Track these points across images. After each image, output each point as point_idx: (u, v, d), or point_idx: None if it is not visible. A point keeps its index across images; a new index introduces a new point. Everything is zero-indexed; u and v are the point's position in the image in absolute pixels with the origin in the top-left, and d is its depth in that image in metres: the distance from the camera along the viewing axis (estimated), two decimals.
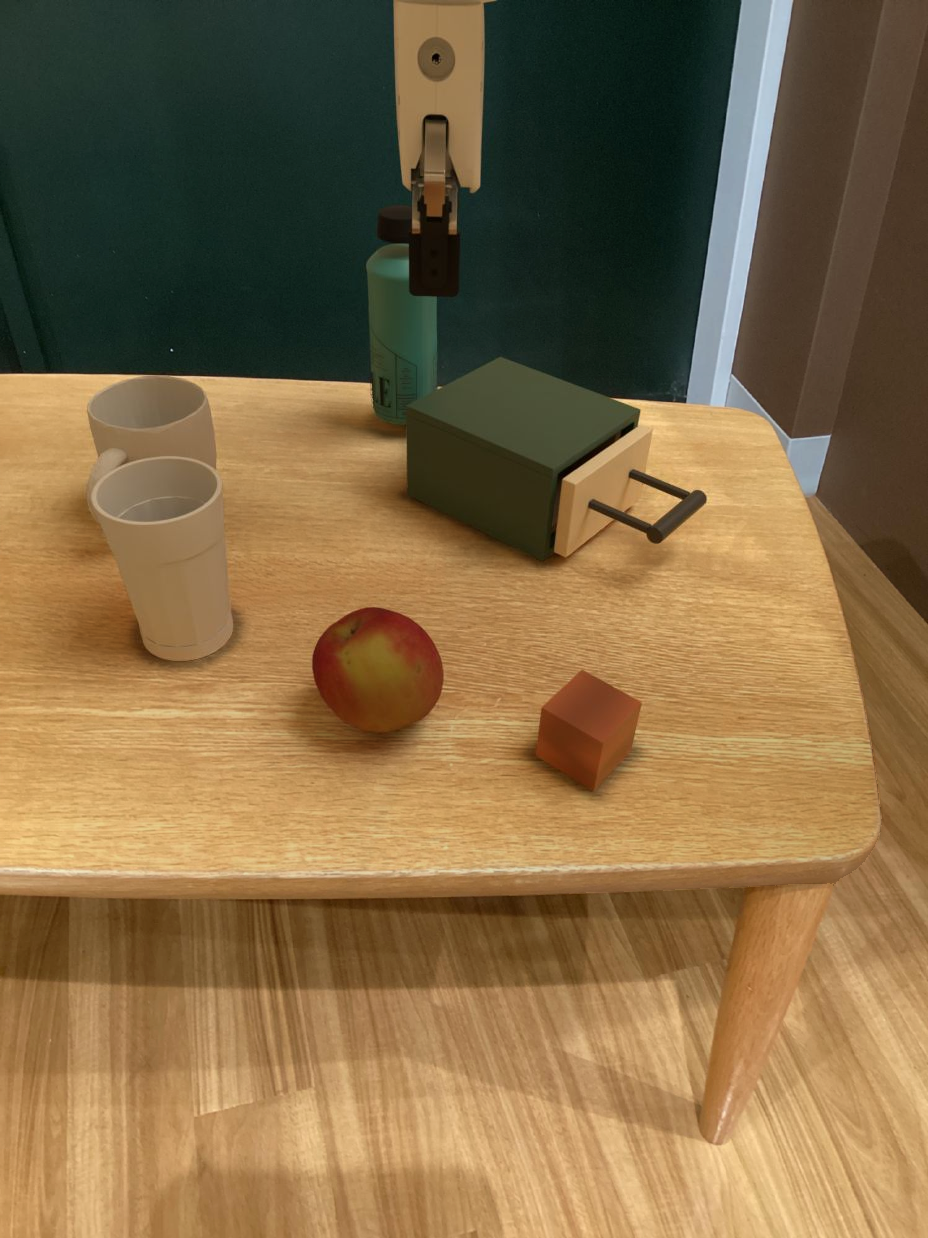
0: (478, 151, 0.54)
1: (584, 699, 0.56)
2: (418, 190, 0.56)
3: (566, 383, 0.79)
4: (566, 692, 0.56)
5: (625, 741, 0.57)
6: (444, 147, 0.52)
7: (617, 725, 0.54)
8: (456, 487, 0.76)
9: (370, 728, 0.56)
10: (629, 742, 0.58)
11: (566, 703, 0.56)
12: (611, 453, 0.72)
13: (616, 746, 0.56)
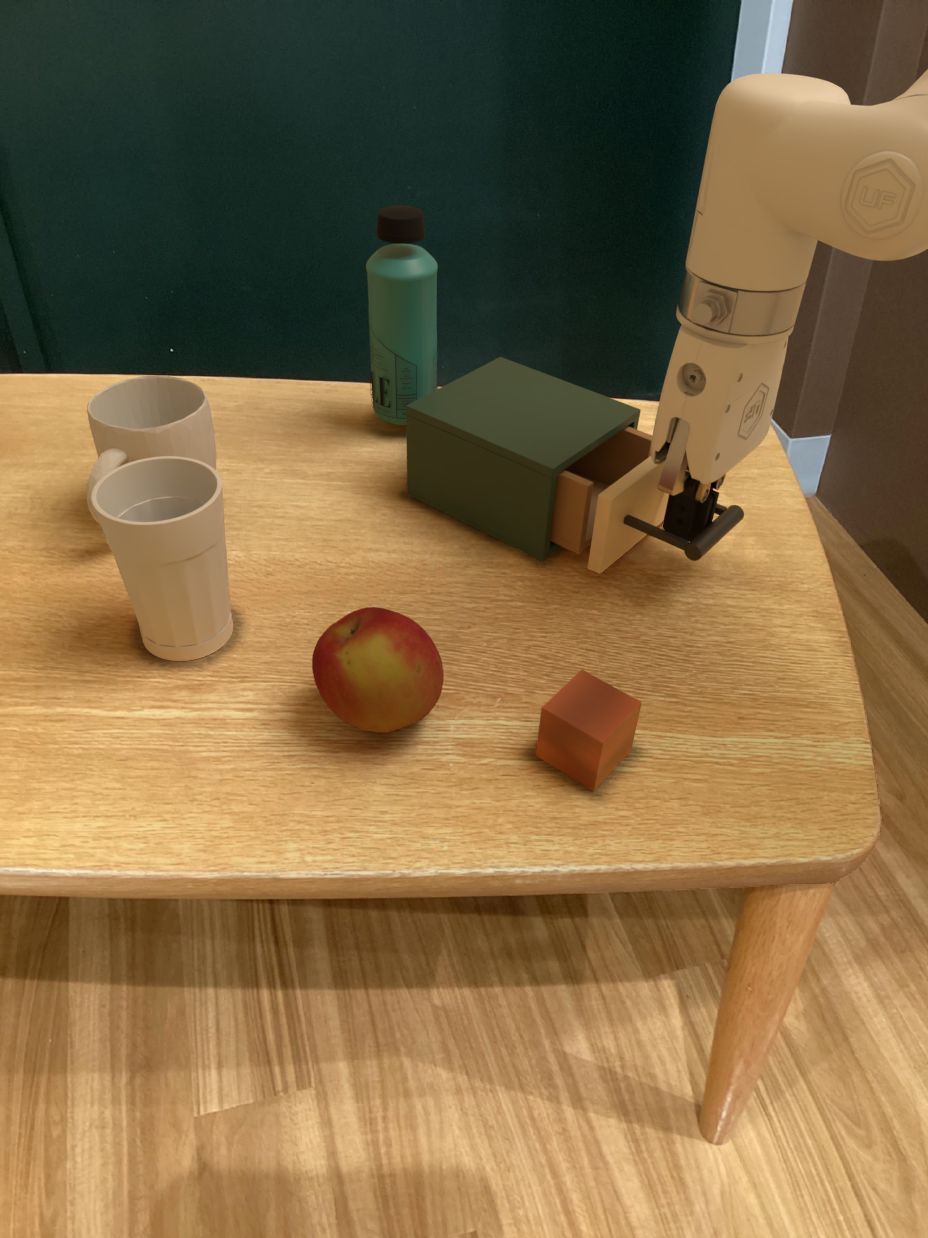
0: (712, 456, 0.61)
1: (584, 699, 0.56)
2: None
3: (566, 383, 0.79)
4: (566, 692, 0.56)
5: (625, 741, 0.57)
6: (679, 466, 0.63)
7: (617, 725, 0.54)
8: (456, 487, 0.76)
9: (370, 728, 0.56)
10: (629, 742, 0.58)
11: (566, 703, 0.56)
12: (647, 468, 0.70)
13: (616, 746, 0.56)
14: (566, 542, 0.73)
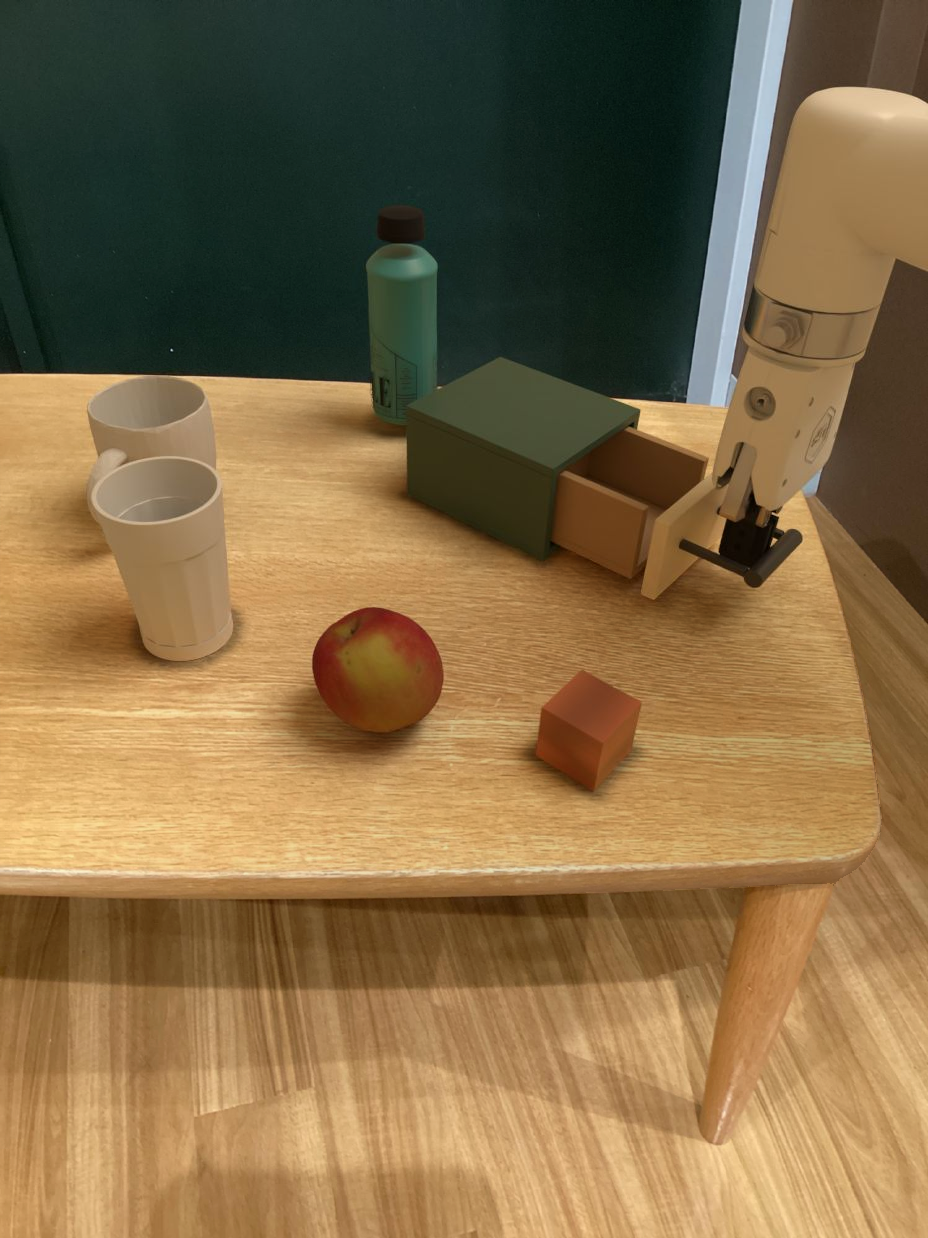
0: (779, 483, 0.59)
1: (584, 699, 0.56)
2: None
3: (566, 383, 0.79)
4: (566, 692, 0.56)
5: (625, 741, 0.57)
6: (743, 492, 0.60)
7: (617, 725, 0.54)
8: (456, 487, 0.76)
9: (370, 728, 0.56)
10: (629, 742, 0.58)
11: (566, 703, 0.56)
12: (703, 490, 0.68)
13: (616, 746, 0.56)
14: (618, 566, 0.70)
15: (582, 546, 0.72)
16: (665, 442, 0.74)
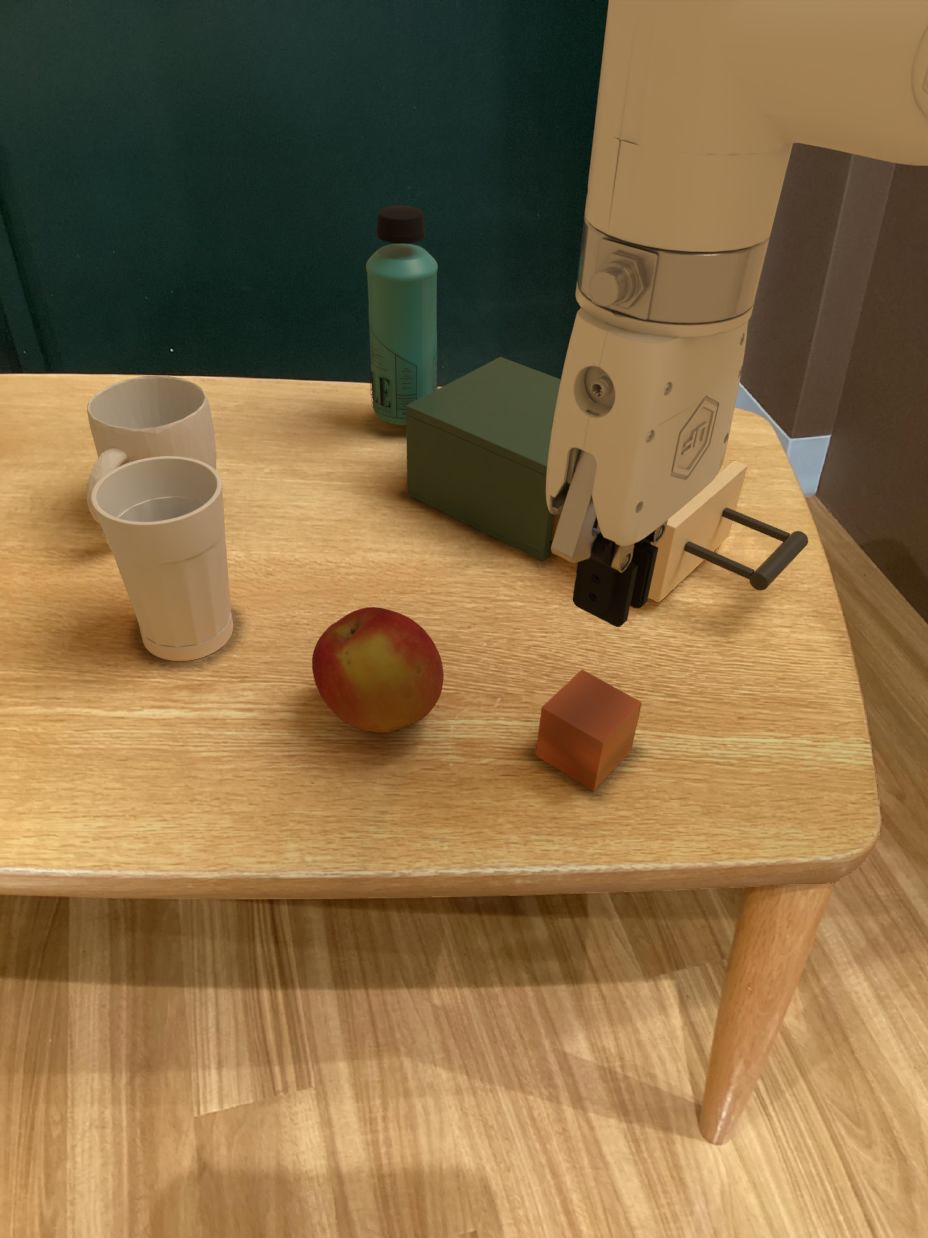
0: (630, 507, 0.40)
1: (584, 699, 0.56)
2: None
3: None
4: (566, 692, 0.56)
5: (625, 741, 0.57)
6: (582, 520, 0.42)
7: (617, 725, 0.54)
8: (456, 487, 0.76)
9: (370, 728, 0.56)
10: (629, 742, 0.58)
11: (566, 703, 0.56)
12: (708, 493, 0.68)
13: (616, 746, 0.56)
14: None
15: None
16: None
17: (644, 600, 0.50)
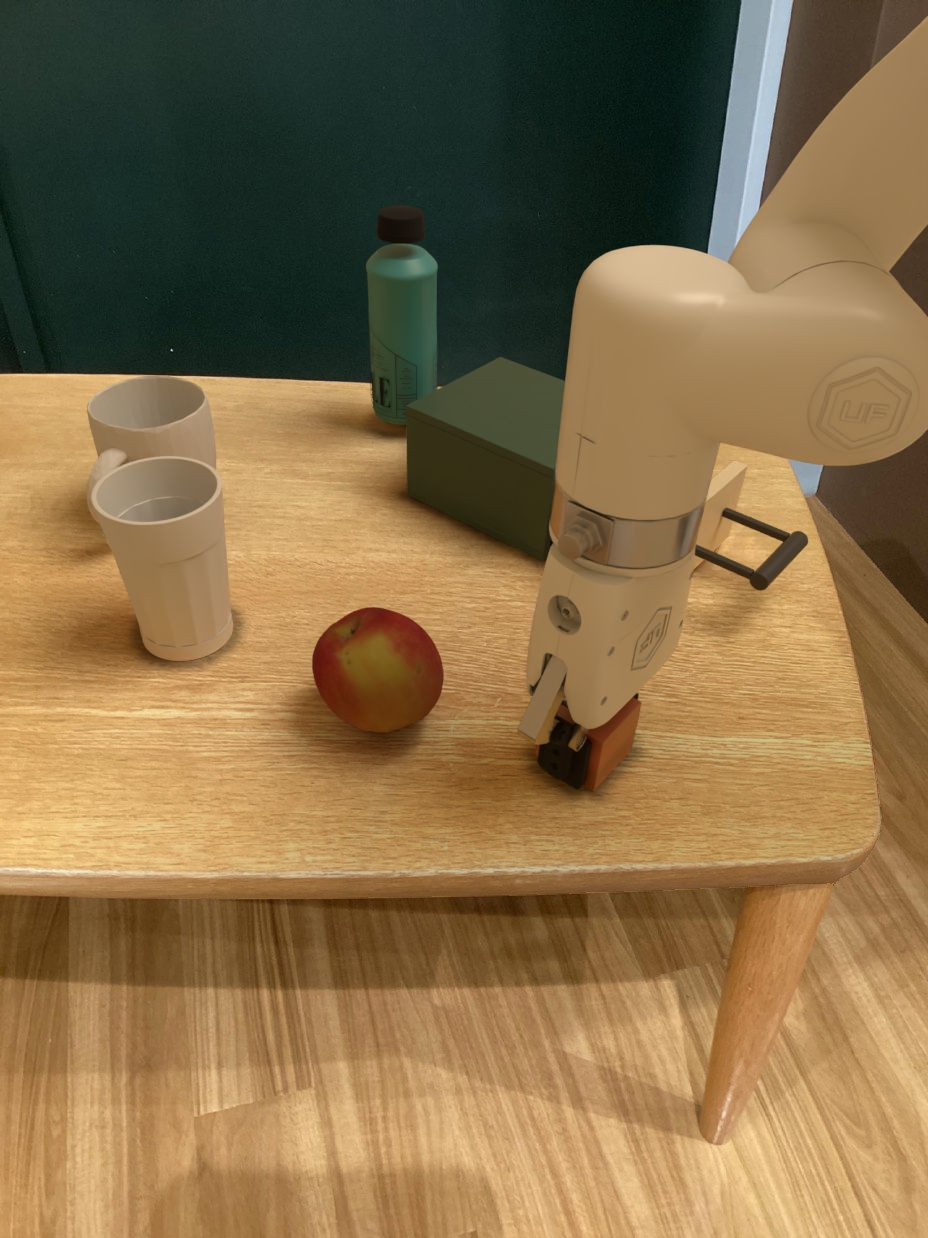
0: (596, 703, 0.48)
1: None
2: None
3: None
4: None
5: (625, 741, 0.57)
6: (548, 708, 0.49)
7: (617, 725, 0.54)
8: (456, 487, 0.76)
9: (370, 728, 0.56)
10: (629, 742, 0.58)
11: None
12: (708, 493, 0.68)
13: (616, 746, 0.56)
14: None
15: None
16: None
17: None
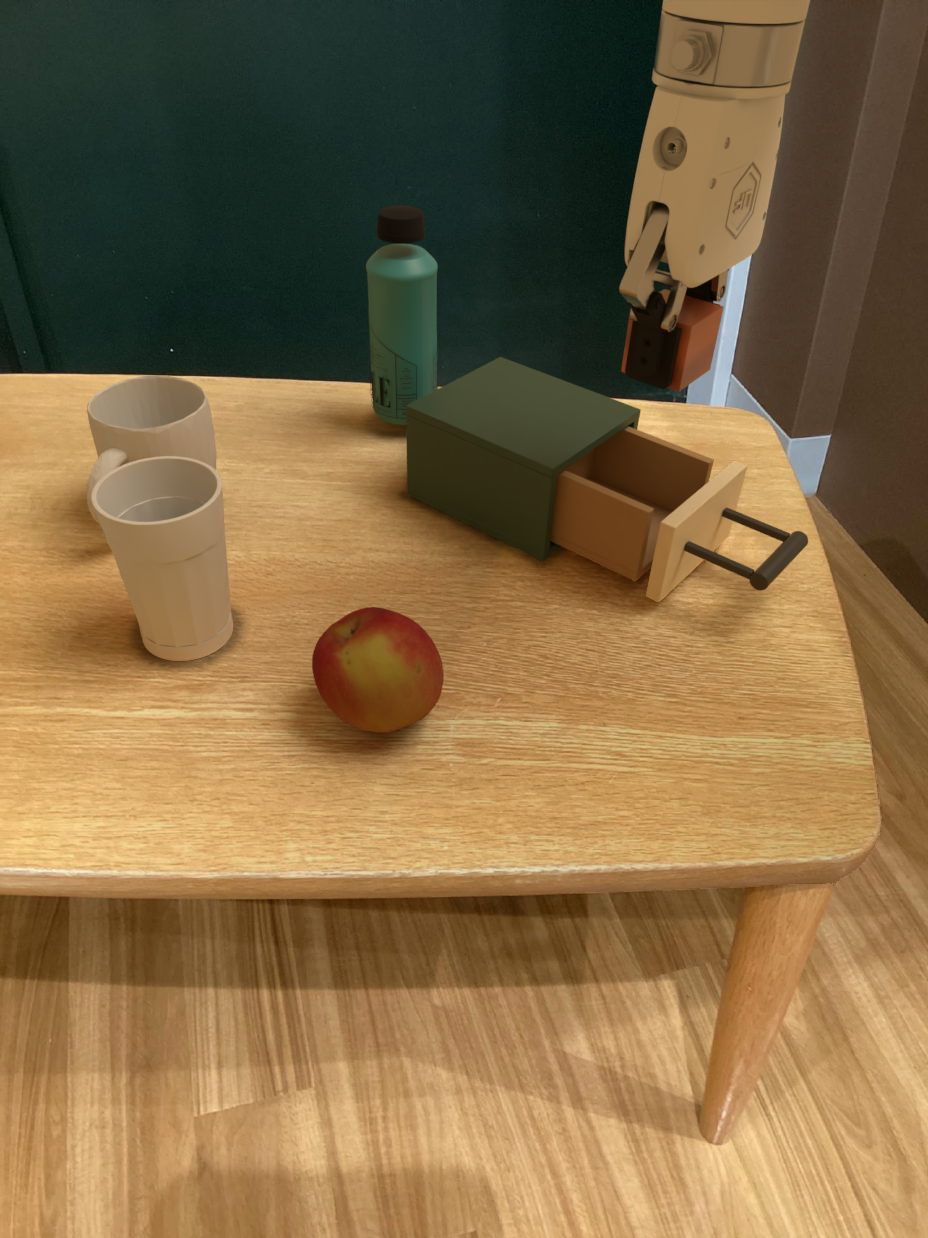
0: (695, 247, 0.52)
1: None
2: None
3: (566, 383, 0.79)
4: None
5: (707, 348, 0.60)
6: (650, 257, 0.52)
7: (703, 317, 0.58)
8: (456, 487, 0.76)
9: (370, 728, 0.56)
10: (709, 354, 0.61)
11: None
12: (708, 493, 0.68)
13: (700, 346, 0.59)
14: (622, 569, 0.70)
15: (587, 548, 0.72)
16: (670, 444, 0.74)
17: None
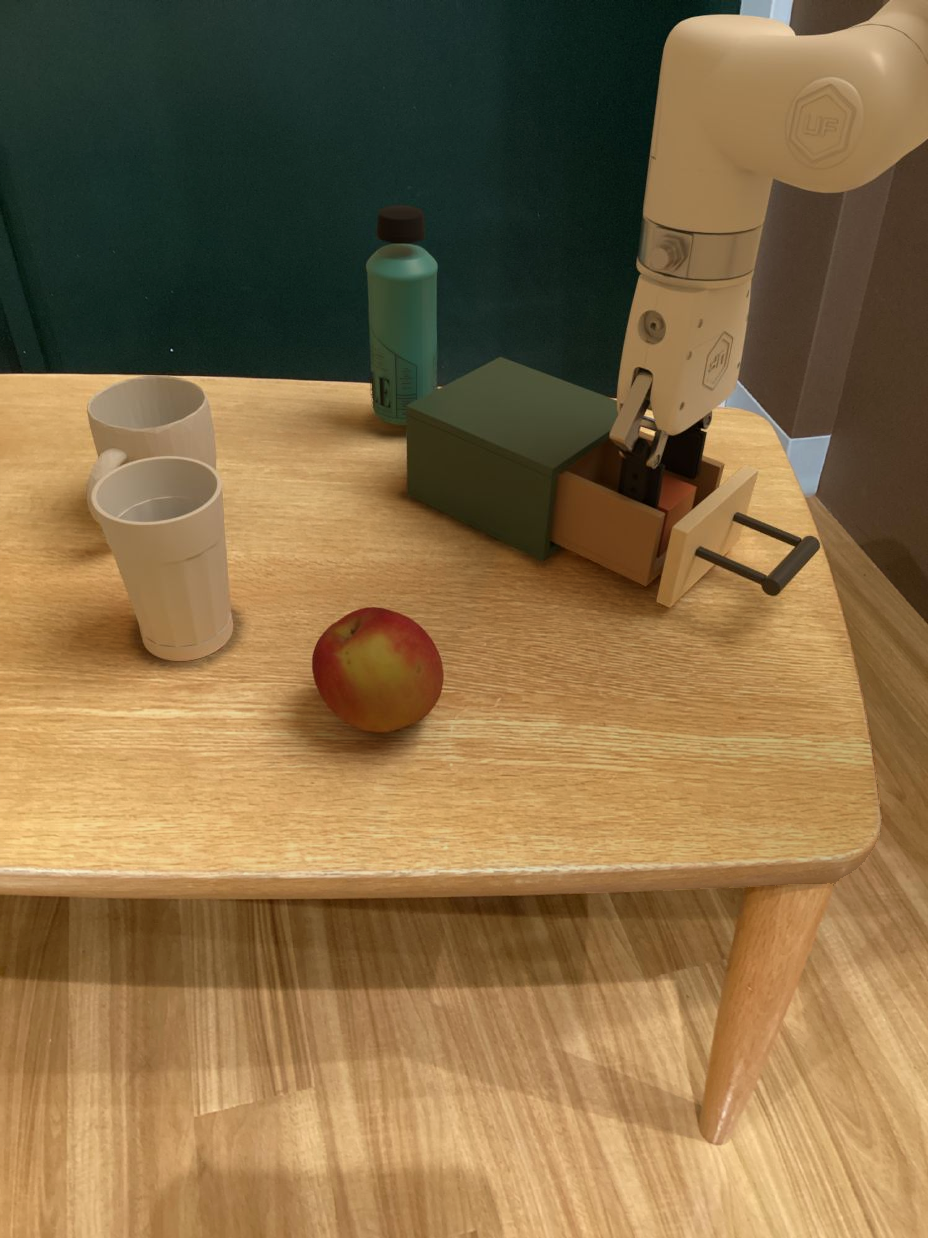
0: (676, 405, 0.61)
1: None
2: None
3: (566, 383, 0.79)
4: None
5: None
6: (636, 411, 0.61)
7: (678, 500, 0.69)
8: (456, 487, 0.76)
9: (370, 728, 0.56)
10: None
11: None
12: (719, 497, 0.67)
13: (676, 520, 0.71)
14: (633, 574, 0.70)
15: (597, 553, 0.71)
16: None
17: (697, 472, 0.71)
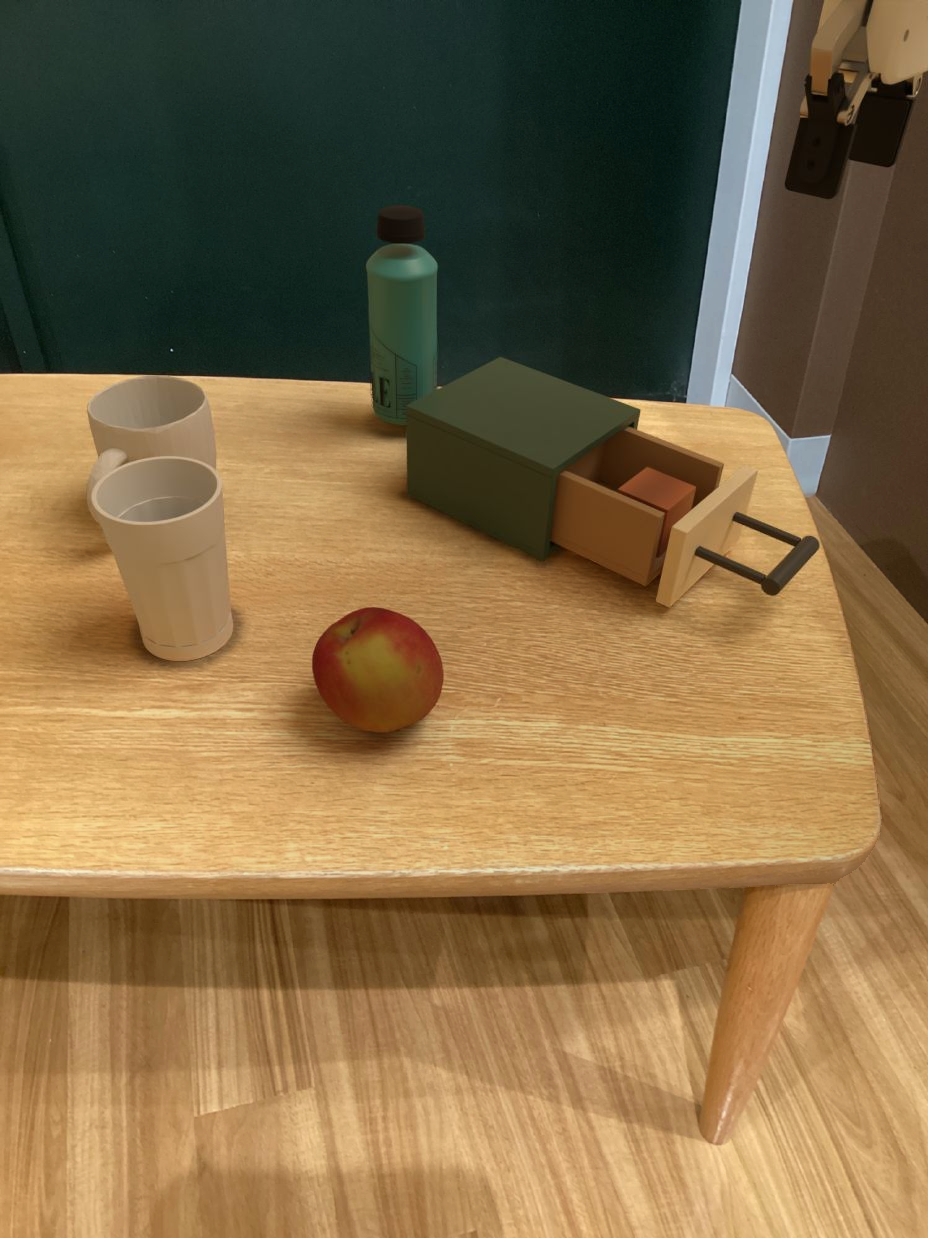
0: (901, 31, 0.49)
1: (651, 484, 0.71)
2: None
3: (566, 383, 0.79)
4: (636, 479, 0.71)
5: None
6: (852, 15, 0.48)
7: (678, 499, 0.69)
8: (456, 487, 0.76)
9: (370, 728, 0.56)
10: None
11: (636, 486, 0.71)
12: (719, 497, 0.68)
13: (676, 520, 0.71)
14: (632, 574, 0.70)
15: (596, 553, 0.71)
16: (680, 448, 0.73)
17: (896, 157, 0.60)
